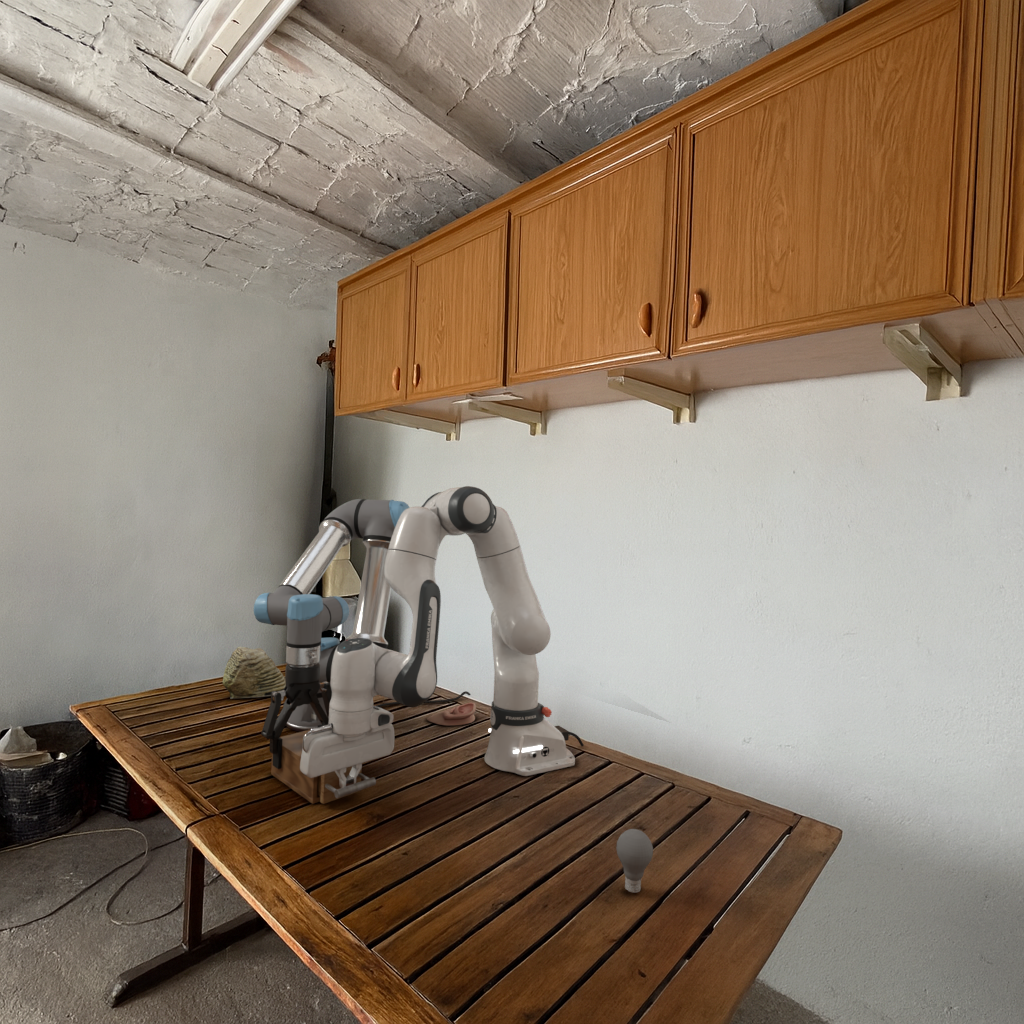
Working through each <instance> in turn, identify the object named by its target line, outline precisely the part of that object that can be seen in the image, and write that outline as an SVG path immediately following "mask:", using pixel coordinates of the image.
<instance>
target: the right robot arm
mask: <svg viewBox="0 0 1024 1024" xmlns="http://www.w3.org/2000/svg"><path fill="white" fill-rule="evenodd" d="M409 507H410V506H409ZM464 534H465V535H466V536H467V537H469V539H470V541H471V542H472V545H473V549H474V552H475V556H476V561H477V563H478V567H479V571H480V575H481V578H482V582H483V585H484V588H485V591H486V593H487V595H488V598H489V600H490V603H491V605H492V611H491V614H490V625H491V638H492V639H491V642H492V643H491V644H492V657H493V672H494V677H493V679H494V680H493V700H492V701H491V708H490V718H489V722H490V728H488V733H490V734H489V740H488V744H487V748H486V751H485V753H484V757H483V760H484V762H485V763H486V764H487V765H488V766H490V767H491V768H493V769H496V770H499V771H503V772H509V773H514V774H517V775H519V776H521V777H522V776H523V777H528V776H533V775H537V774H542V773H547V772H552V771H556V770H560V769H565V768H569V767H573V766H575V765H576V758H575V755H574V754H573V753H572V751H571V750H569V749H568V748H567V743H566V742H567V741H569V738H570V737H569V736H572V737H574V738H575V739H576V740H577V741H578V743H579V745H580V746H581V747H584V746H585V745H584V743H583V741H582V739H581V738H580V736H579V735H577V733H574V732H572V731H569V730H567V729H566V728H564V727H562V726H561V725H553V724H552V723H551V722H550V721H548V719H546V718H550V717H551V716H552V713H553V711H552V710H551V708H549V707H548V706H545V705H543V704H541V703H540V702H539V688H540V687H539V684H540V670H539V667H538V662H537V655H538V654H540V653H541V652H543V651H544V650H545V649H546V648H547V646H548V645H549V642H550V640H551V634H552V633H551V628H550V625H549V622H548V620H547V619H546V616H545V614H544V610H543V608H542V605H541V602H540V600H539V598H538V595H537V593H536V590H535V588H534V585H533V583H532V580H531V577H530V575H529V571H528V569H527V566H526V561H525V558H524V554H523V551H522V547H521V543H520V539H519V537H518V533H517V530H516V528H515V526H514V524H513V522H512V520H511V517H510V515H509V514H508V511H507V510H505V508H503V507H501V506H496V505H495V504H494V503H493V501H492V499H491V497H490V495H488V494H487V493H486V492H485V491H484V490H483V489H481V488H479V487H476V486H469V485H466V486H459V487H450V488H448V489H445V490H443V491H440V492H436V493H434V494H431V496H429V497H428V498H427V499H426V500H425V502H424V503H423V504H422V505H421V506H411V507H410V508H408V509H406V510H404V511H403V512H402V514H401V515H400V518H399V520H398V522H397V524H396V527H395V529H394V532H393V535H392V538H391V541H390V544H389V548H388V552H387V556H386V560H385V566H384V575H385V578H386V580H387V582H388V584H389V585H390V587H391V590H393V591H394V592H395V593H397V595H398V596H400V597H401V598H402V599H403V600H404V601H405V602H407V605H408V606H409V608H410V611H411V613H412V623H411V634H410V641H409V642H410V643H409V652H408V654H406V653H402V652H398V651H396V650H392V649H388V648H387V649H385V648H382V647H379V646H377V645H375V644H374V643H373V642H372V641H371V640H369V639H366V638H354V639H348V640H346V639H345V640H343V641H342V642H340V644H339V645H338V646H337V648H336V650H335V653H334V656H333V661H332V668H331V682H330V685H331V689H332V697H331V700H330V704H329V722H328V725H324V726H321V727H318V728H317V727H315V728H312V729H310V731H309V732H307V733H306V735H305V736H304V737H303V750H302V755H301V761H300V770H301V772H302V773H303V774H304V775H306V776H307V777H309V778H313V777H317V776H320V775H323V774H327V773H330V772H333V771H335V772H336V774H337V776H338V777H339V786H340V787H341V788H343V787H346V786H349V785H352V784H355V783H356V777H357V776H358V774H359V772H360V770H361V768H363V763H367V762H369V761H373V760H376V759H380V758H383V757H387V756H390V755H391V754H392V752H393V751H394V749H395V739H396V738H395V728H394V725H393V724H392V723H393V722H394V720H395V719H394V718H395V716H394V713H392V712H390V711H388V710H386V709H384V708H382V707H377V706H376V705H374V697H376V696H381V697H383V698H386V699H389V700H393V701H394V702H399V703H401V704H400V705H403V706H406V707H407V708H417V707H419V706H421V705H423V704H425V703H424V702H426V701H429V699H431V697H432V696H433V694H434V693H435V691H436V689H437V684H438V667H437V666H438V665H437V653H438V644H439V643H438V641H439V631H440V618H441V606H442V605H441V603H442V598H441V597H442V596H441V589H440V587H439V585H438V584H437V581H436V563H437V559H438V554H439V548H440V545H441V543H442V542H443V540H444V539H445V537H446V536H453V537H454V536H462V535H464ZM545 717H546V718H545ZM350 766H352V769H351V771H350V774H349V775H347V776H345V775H344V773H345V772H346V768H347V767H350ZM361 771H362V770H361Z"/></svg>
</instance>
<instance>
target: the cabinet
mask: <svg viewBox="0 0 1024 1024" xmlns="http://www.w3.org/2000/svg"><path fill="white" fill-rule="evenodd" d="M309 731H310V730H307V731H303V732H301V731H298V732H296V733H291V734H288V735H283V736H280V738H282V739H283V740H282V765H281V768H280V769H277V768H276V767H274V766H273V754H272V753H271V765H270V766H271V768H270V770H271V771H270V775H271V776H273V777H275V779H276V780H279V781H280V782H281V783H283V784H284V785H285V786H287V787H288V788H289V789H291V790H292V791H294V793H297V794H298V795H299V796H301V797H302V798H303V799H305V801H307V802H309V803H310V804H312V805H314V804H317V803H321V802H320V796H319V795H318V794H317V780H318V776H317V777H313V778H309V777H307V776H306V775H304V774H303V773H302V772H301V770H300V761H301V755H302V750H303V737H304V736H305V735H306V733H307V732H309Z"/></svg>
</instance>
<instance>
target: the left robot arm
mask: <svg viewBox="0 0 1024 1024" xmlns="http://www.w3.org/2000/svg"><path fill="white" fill-rule="evenodd" d="M408 508H410V506H409V504H408V503H407V502H405V501H401V500H394V499H368V498H367V499H365V498H357V499H352V500H349V501H347V502H345V503H342V504H341V505H339V506H337V507H336V508H335V509H333V510H332V511H331V512H330V513H328V514H327V516H326V517H324V519H323V520H322V521H321V522H320V524H319V526H318V533H317V534H316V535H315V537H314V538H313V540H312V541H311V542H310V543H309V545H308V546H307V547H306V549H305V550H304V552H302V554H301V556H300V557H299V559H297V561H296V562H295V564H294V565H293V566H292V568H290V570H289V571H288V573H287V574H286V576H285V577H284V578H283V580H282V581H281V582H280V584H279V585H278V586H277V587H276V589H275V590H274V591H273V592H264V593H261V594H259V595H258V596H257V597H256V598H255V601H254V603H253V615H254V617H255V619H256V620H257V622H259V623H261V624H265V625H266V624H267V625H271V626H284V627H286V645H285V646H286V648H285V649H286V650H285V663H286V665H285V673H284V675H285V676H284V677H285V682H286V685H285V688H284V690H282V691H278V692H276V691H272V692H271V696H270V703H269V706H268V710H267V713H266V717H265V720H264V723H263V726H262V729H261V733H260V734H261V736H262V737H264V738H265V739H267V740H269V753H271V755H272V754H273V766H274V767H276V768H277V769H280V768H281V765H282V740H283V739H282V738H280V737H281V735H282V733H283V731H284V729H285V727H286V728H287V729H289V730H291V731H294V732H295V731H296V732H303V731H307V730H310V729H312V728H315V727H317V728H318V727H321V726H324V725H328V722H329V704H330V700H331V697H332V689H331V685H330V682H331V668H332V661H333V656H334V653H335V650H336V648H337V646H338V645H339V644H340V643H341V641H340V639H339V638H338V637H322V633H323V632H327V631H329V630H332V629H336V628H338V627H340V626H341V625H343V624H344V623H346V621H347V620H348V618H349V615H350V607H349V604H348V602H347V601H346V600H345V599H344V598H343V597H341V596H338V595H330V596H326V597H322V596H321V595H319V594H312V592H313V590H314V588H315V587H316V586H317V584H318V582H319V581H320V580H321V578H322V577H323V575H324V574H325V573H326V571H327V569H328V568H329V567H330V565H331V563H332V562H333V561H334V559H335V558H336V556H337V554H338V553H339V552H340V550H341V549H342V548H344V547H346V546H348V545H349V544H350V543H351V541H352V540H355V539H361V540H362V544H363V545H364V547H365V549H366V553H365V558H364V564H363V570H362V577H361V582H360V587H359V593H358V598H357V605H356V610H355V616H354V622H353V628H352V632H351V634H350V635H348V636H347V637H346V638H345V640H348V639H354V638H366V639H369V640H371V641H372V642H373V643H374V644H375V645H377V646H379V647H382V648H385V649H388V646H389V642H388V641H387V640H386V639H385V630H386V625H387V620H388V619H387V617H388V613H389V612H388V611H389V606H390V599H391V593H392V588H391V587H390V585H389V584H388V582H387V580H386V578H385V575H384V566H385V560H386V556H387V552H388V548H389V544H390V541H391V538H392V535H393V532H394V529H395V527H396V524H397V522H398V520H399V518H400V515H401V514H402V512H403V511H404V510H406V509H408ZM464 695H467V696H472V694H471V693H470V692H469V691H463V692H461V693H460V694H459V695H457V696H455V697H454V698H448V699H436V700H435V699H433V700H427V701H426V702H424V703H423V704H440V703H448V702H454V701H457V700H459V699H461V698H462V697H463V696H464ZM284 698H286V699H285V700H284ZM283 701H284V702H283ZM282 702H283V707H282ZM393 705H402V704H401V703H399V702H397V701H392V702H391V701H390V702H385V703H381V704H377V705H375V706H377V707H380V708H382V707H387V706H393ZM281 707H282V708H281ZM280 710H281V711H280Z"/></svg>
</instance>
